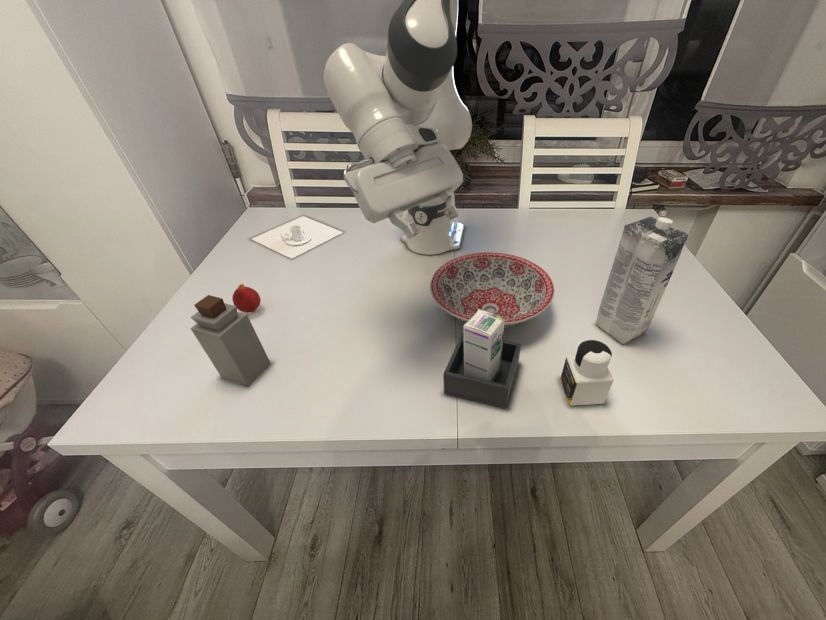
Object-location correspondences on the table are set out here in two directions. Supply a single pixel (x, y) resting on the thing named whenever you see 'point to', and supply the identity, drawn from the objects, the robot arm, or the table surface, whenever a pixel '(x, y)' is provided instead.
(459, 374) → the bin
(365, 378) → the table surface
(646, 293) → the juice carton
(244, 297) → the onion
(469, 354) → the syrup box
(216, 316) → the perfume bottle
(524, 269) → the ceramic bowl
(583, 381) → the medicine bottle
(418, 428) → the table surface
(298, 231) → the teacup and saucer
